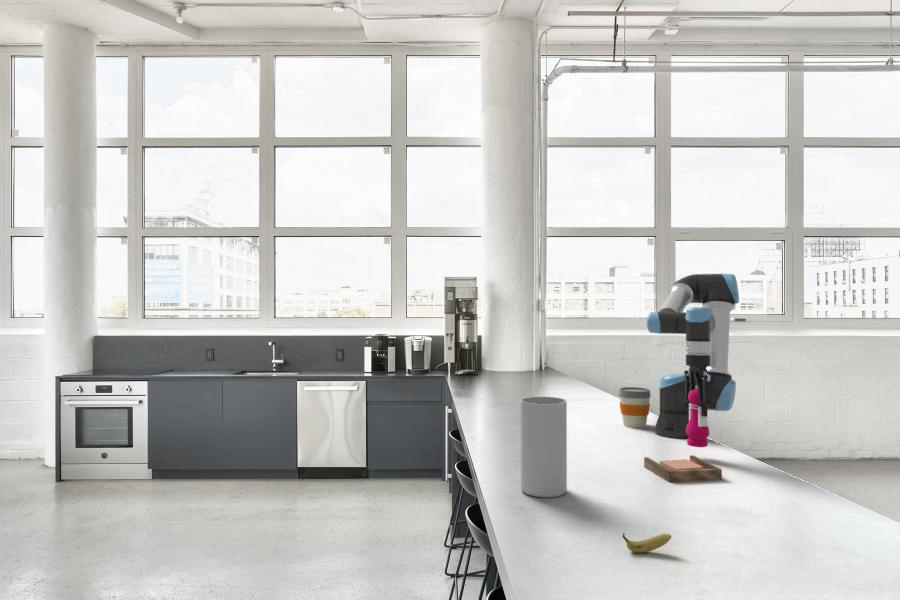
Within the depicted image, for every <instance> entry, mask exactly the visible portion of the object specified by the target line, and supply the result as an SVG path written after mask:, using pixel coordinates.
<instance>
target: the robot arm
mask: <svg viewBox="0 0 900 600" xmlns="http://www.w3.org/2000/svg"><path fill="white" fill-rule="evenodd" d="M667 293H668V294H667V297H666V298H665V301H664V302H663V304H662V306H661V307H660V309H659V310H658V311H652V312H651V311H650V312H649V313H648V314H647V316H646V327H647V328H646V329H647V330H648V332H649V333H652V334H666V335H667V334H668V335H669V334H670V335H671V334H677V335H679V334H681V335H685V353H687V354H686V355H685V365H686V366H688V367H689V368H688V370H684V372H683V373H672V374H665V375H663V376H661V377H660V379H659V388H658V389H659V415H658V418H657V421H656V423H655V426H654V433H655V435H658V436H662V437H666V438H672V439H674V438H675V439H688V438H689V437H688V435H687V434H686V427H687V424H688V422H689V420H690V418H691V408H690V403H691V402H690V401H689V399H688V394H689V392H690V391H691V390H694V389H696V388H695V386H696V385H697V387H698V394H699V402H700V405H698V426H699V427H703V426H708V411H715V412H719V411H720V412H728V411H730V410H731V409H732V407H733V405H734V401H735V397H736V391H737V390H736V387H737V384H736V381H735V380H734V379H732V378H733V377H732V374H731V373H729V371H728V368H729V367H728V366H729V347H730V346H729V344H730V343H729V342H730V321H731V320H730V319H731V318H730V317H731V311H733V310H735V307H736V306H735V305H737V304H739V303H740V296H739V295H740V294H739V287H738V281H737V277H736V275H734V274H733V273H723V272H722V273H703V274H702V273H701V274H699V273H694V274H690V275H687V276H684V277H682V278H679V280H676V281H675V282H674V283H673V284H672V285H671V286H670V287H669V289H668V292H667ZM690 304H702V306H701V307H699V306H697V307H696V306H692V307H690V306H689V305H690ZM687 306H688V307H687ZM686 307H687V308H686ZM685 308H686V310H685ZM684 310H685V311H684Z"/></svg>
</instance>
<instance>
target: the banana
mask: <svg viewBox="0 0 900 600" xmlns="http://www.w3.org/2000/svg"><path fill="white" fill-rule="evenodd" d="M625 535H626V533H624V532H623V533H622V536H621V537H622V538H623V540H624V541H625V542H626V543H625V544H626V547H627V549H628V550H629V551H630V552H633V553H636V554H637V553H638V554H644V553H648V552H652V551H654V550H657V549H659V548H661V547H663V546H665V545H666V544H668V543H669V542H670V540H671V538H672V536H671V533H670V534H669V533H662V534H658V535H656V536H653V537H650V538H647V539H643V540H639V541H638V540H637V541H635V540H629V539H628V538H627V537H626V536H625Z"/></svg>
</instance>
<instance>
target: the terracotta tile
mask: <svg viewBox="0 0 900 600" xmlns="http://www.w3.org/2000/svg"><path fill="white" fill-rule="evenodd" d="M659 464H660V465H662V466H664V467H666V468H667V469H669V470H690V469H704V467H702V466H700V465H698V464H696V463H693V462H691V461H690V459H687V458H685V459H670V460H659Z"/></svg>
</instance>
